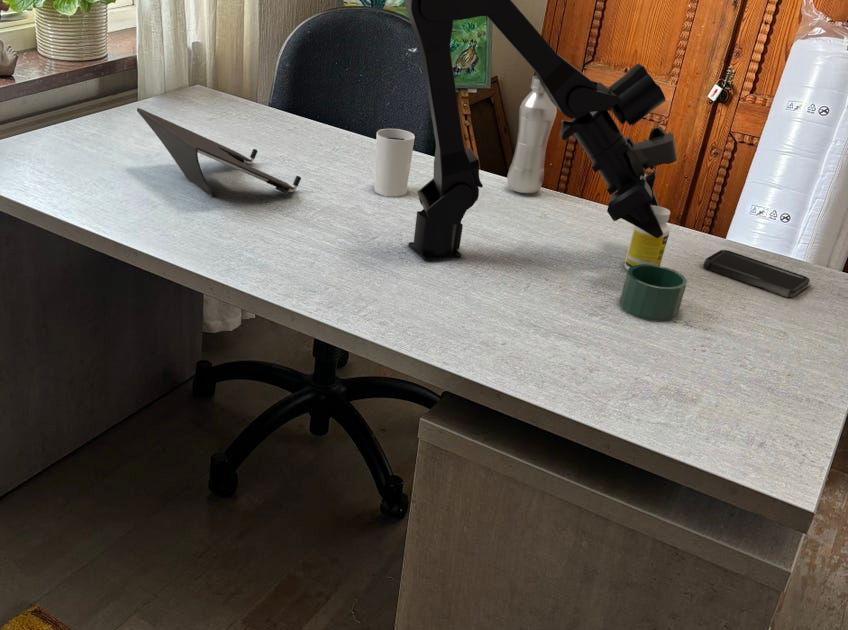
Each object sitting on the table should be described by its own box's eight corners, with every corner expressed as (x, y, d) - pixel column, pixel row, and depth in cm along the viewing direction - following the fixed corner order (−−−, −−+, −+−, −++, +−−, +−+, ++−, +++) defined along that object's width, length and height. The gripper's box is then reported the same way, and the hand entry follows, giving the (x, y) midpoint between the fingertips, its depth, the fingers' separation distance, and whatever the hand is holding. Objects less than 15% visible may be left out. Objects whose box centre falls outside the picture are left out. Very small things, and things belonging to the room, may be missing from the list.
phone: (723, 248, 161) (812, 278, 153) (721, 255, 162) (809, 285, 154) (702, 260, 156) (793, 292, 148) (700, 267, 157) (791, 298, 149)
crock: (643, 324, 138) (652, 291, 135) (608, 298, 144) (616, 267, 141) (689, 317, 141) (699, 285, 138) (653, 292, 147) (662, 261, 144)
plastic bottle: (501, 184, 182) (520, 72, 171) (537, 186, 183) (557, 75, 172) (508, 196, 177) (528, 81, 166) (544, 198, 178) (566, 84, 167)
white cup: (401, 184, 178) (407, 128, 172) (414, 196, 173) (420, 140, 167) (366, 184, 176) (371, 128, 170) (378, 198, 171) (383, 140, 165)
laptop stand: (289, 233, 170) (312, 184, 167) (179, 190, 153) (202, 134, 151) (228, 190, 185) (248, 144, 182) (121, 146, 168) (141, 95, 166)
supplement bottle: (658, 279, 152) (676, 218, 146) (623, 273, 152) (639, 212, 147) (657, 265, 156) (674, 206, 150) (623, 260, 157) (638, 201, 151)
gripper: (651, 129, 134) (710, 221, 138) (656, 98, 149) (708, 182, 153) (582, 176, 140) (640, 262, 144) (593, 141, 155) (645, 221, 159)
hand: (660, 230), depth 150 cm, fingers closed on supplement bottle, 5 cm apart
